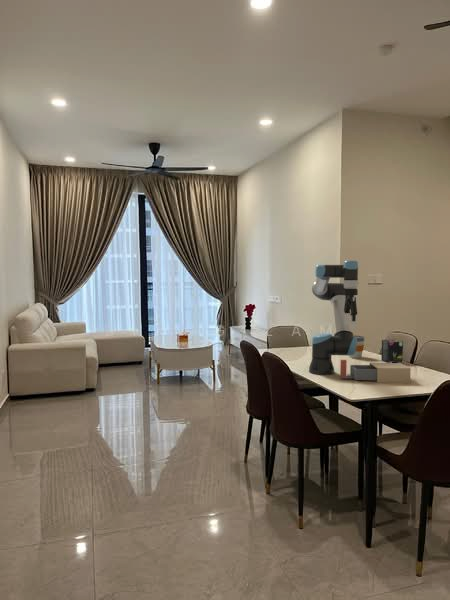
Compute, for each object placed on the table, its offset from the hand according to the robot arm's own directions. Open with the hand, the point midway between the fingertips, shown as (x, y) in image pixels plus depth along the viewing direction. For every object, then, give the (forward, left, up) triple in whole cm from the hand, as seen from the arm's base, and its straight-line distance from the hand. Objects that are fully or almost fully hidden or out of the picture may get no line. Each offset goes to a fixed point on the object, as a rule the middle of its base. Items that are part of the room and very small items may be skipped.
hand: (350, 325), depth 249 cm
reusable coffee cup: (+22, +71, -31) cm, 81 cm away
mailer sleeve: (+23, +2, -31) cm, 38 cm away
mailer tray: (+8, +2, -30) cm, 31 cm away
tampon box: (+43, +55, -31) cm, 76 cm away
